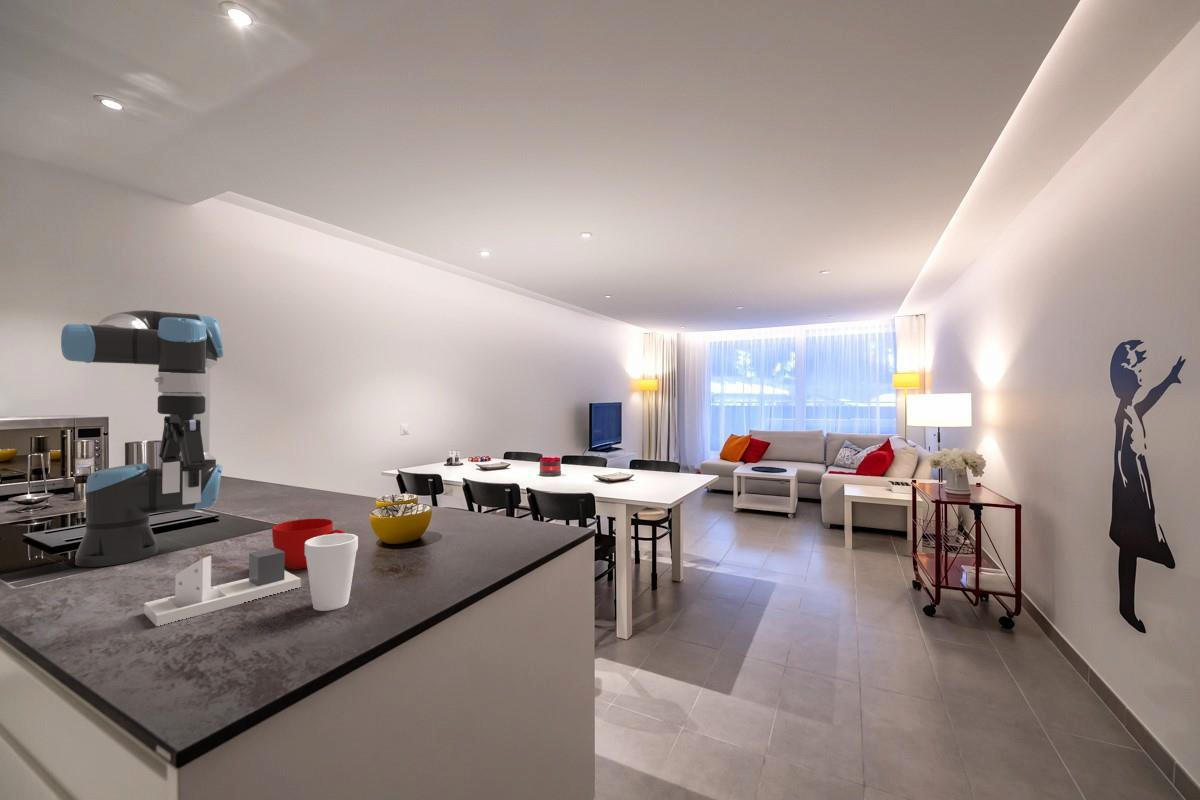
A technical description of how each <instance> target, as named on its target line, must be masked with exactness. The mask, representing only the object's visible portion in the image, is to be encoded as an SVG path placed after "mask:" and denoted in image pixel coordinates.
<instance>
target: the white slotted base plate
mask: <svg viewBox="0 0 1200 800" xmlns="http://www.w3.org/2000/svg"><path fill="white" fill-rule="evenodd" d="M285 566H286V565H285V552H284V551H281V550H279V549H277V548H274V547H273V548H272V547H271V548H268V549H263V550H262V549H261V550H259V551H258V550H257V551H252V552H249V553H248V577H247V578H243V579H239V580H235V581H231V582H227V583H226V582H225V583H221V584H218V585H217V584H216V585H214V586H212V587H219V598H217V599H213V600H209V601H205V602H201V603H197V604H193V605H189V606H185V607H181V608H177V607H176V606H175V595H172V596H168V597H163V598H160V599H154V600H151V601H146V602H144V605H143V606H144V607H143V610H144V611H143V613H144V615H145V616H146V617H147V618H148V619H149V620H150V622H152V624H153V625H154V626H155V627H157V626H158V627H161V626H164V624H165V625H168V623H169V624H172V623H176V622H179V621H178V620H180V621H183V620H186V618H187V619H190V617H191V618H194V617H197V616H202V615H205V614H209V613H213V612H216V611H219V610H224V609H227V608H231V607H234V606H238V605H242V604H245V603H244V602H246V603H249V602H248V601H250V602H253V601H252V600H254V599H257V600H259V599H258V598H261V599H263V598H262V597H265V596H268V597H270V596H269V595H272V596H274V595H273V594H276V595H278V594H277V593H279V594H281V593H280V592H283V593H286V592H285V591H287V592H289V591H288V590H290V591H292V590H291V589H294V590H296V589H295V588H298V589H300V588H299V587H302V578H301V577H299V576H297V575H295V574H293V573H291V572H289V571H287V570H286V567H285ZM265 598H266V597H265ZM254 601H255V600H254ZM182 619H183V620H182ZM175 621H176V622H175ZM171 622H172V623H171ZM160 625H161V626H160Z"/></svg>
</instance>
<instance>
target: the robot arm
mask: <svg viewBox="0 0 1200 800" xmlns="http://www.w3.org/2000/svg"><path fill="white" fill-rule="evenodd" d="M60 335H61V336H60V344H61V345H60V349H61V353H62V356H63V358H64V359H65V360H67V361H69V362H79V363H80V362H81V363H85V364H91V363H96V364H97V363H98V364H99V363H103V364H105V363H106V364H131V365H132V364H133V365H151V366H158V368H157V372H158V375H157V376H158V377H155V378H154V382H155V383H158V384H157V392H158V393H161V395H158V396H157V412H158V414H160V415H166V416H164V418H163V420H164V421H163V431H162V437H161V443H160V450H159V454H158V456H159V458H160V459H161V461H160V467H159V468H151V465H150V464H149V463H147V462H146V463H135V464H133V463H132V464H125V465H119V466H114V467H109V468H104V469H100V470H96V471H94V472H91V473H90V474H89V475H88V476H87V480H86V488H85V490H84V493H85V497H86V498H85V500H86V501H85V506H86V509H85V532H84V534H83V537H82V538H81V541H80V544H79V546H78V547H77V551H76V553H75V556H74V557H75V558H74V565H75V566H76V567H77V566H78V567H83V568H96V567H99V568H100V567H108V566H117V565H122V564H127V563H132V562H133V563H134V562H137V561H141V560H144V559H147V558H150V557H153V556H155V555H156V554H158V550H159V548H158V546H159V545H158V541H157V539H156V536H155V533H154V532H153V530H152V527H151V525H150V514H157V513H158V514H159V513H170V512H179V511H180V512H181V511H191V510H193V511H196V510H198V509H206V508H210V507H213V506H214V505H215V504H216V503H217V500H218V496H219V491H220V484H221V477H222V471H223V466H222V465H220V464H217V457H215V456H213V455H212V454H211V452H210V422H211V421H210V419H211V418H210V416H211V415H210V413H211V412H210V411H211V409H210V408H211V407H210V406H211V403H210V401H211V369H212V368H213V367H214V366H215V365H217V363H218V359H221V358H223V357H224V350H223V348H224V347H223V340H222V333H221V328H220V324H219V321H218V319H217V318H215V317H214V316H208V315H201V314H197V313H196V314H192V313H183V312H182V313H179V312H168V311H158V310H157V311H155V310H149V309H148V310H147V309H146V310H145V309H144V310H143V309H142V310H130V311H123V312H118V313H113V314H110V315H108V316H105V317H103V318H102V319H101V320H100V321H99V322H98V324H94V325H93V324H88V323H82V324H80V323H79V324H77V323H68V324H65V325H64V326H63V328H62V330H61V334H60Z"/></svg>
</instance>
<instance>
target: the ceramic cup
mask: <svg viewBox="0 0 1200 800" xmlns="http://www.w3.org/2000/svg"><path fill="white" fill-rule="evenodd" d="M333 529H334V521H333V520H331V519H327V518H301V519H294V520H290V521H285V522H284V521H283V522H280V523H277V524H276V525H274V526H273V527H272V529H271V533H272V534H271V535H272V536H271V537H272V544H273V545H272V546H273V548H277V549H279V550H281V551H284V552H285V566H286V567H288V568H287V569H289V568H293V569H292V570H299V569H298V568H304V569H308V568H307V561H306V556H305V542H306V541H307V540H309V539H311V538H314V537H318V536H322V535H329V534H343V533H345V531H344V530H342V529H340V528H338V529H334V530H333Z"/></svg>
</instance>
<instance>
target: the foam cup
mask: <svg viewBox="0 0 1200 800" xmlns="http://www.w3.org/2000/svg"><path fill="white" fill-rule="evenodd" d="M358 547H359V536H358V535H356V534H354V533H345V532H344V533H343V534H340V533H333V534H329V535H322V536H318V537H314V538H311V539H309V540H307V541H306V542H305V556H306V561H307V568H306V569H307V574H308V581H309V582H308V583H309V589H310V595H311V596H310V597H311V602H312V608H313V610H315V611H321V612H325V611H326V612H328V611H334V610H338V609H341V608H343V607H345V606H346V605H348V604H349V601H350V595H351V591H352V590H351V588H352V583H353V582H352V581H353V575H354V569H355V563H356V557H357V551H358V550H359V549H358Z"/></svg>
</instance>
